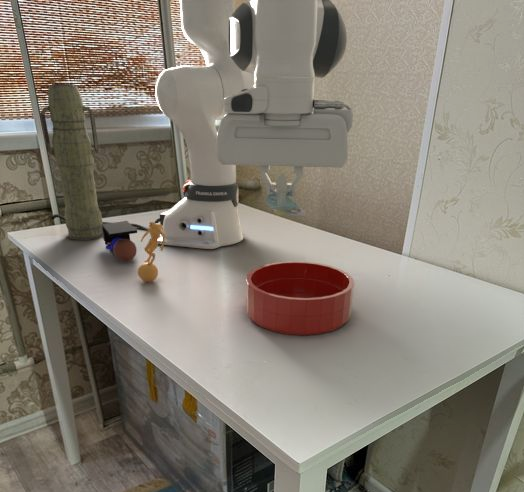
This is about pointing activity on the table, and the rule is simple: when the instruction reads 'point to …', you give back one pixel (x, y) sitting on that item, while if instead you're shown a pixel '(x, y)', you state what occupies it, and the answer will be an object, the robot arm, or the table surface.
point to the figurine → (148, 269)
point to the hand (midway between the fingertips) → (280, 195)
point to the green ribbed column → (74, 159)
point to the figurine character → (119, 239)
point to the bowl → (299, 297)
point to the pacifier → (283, 200)
